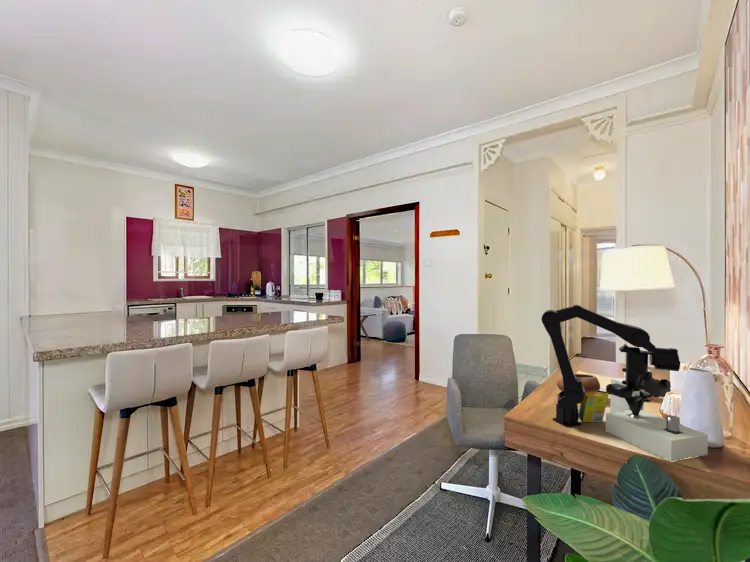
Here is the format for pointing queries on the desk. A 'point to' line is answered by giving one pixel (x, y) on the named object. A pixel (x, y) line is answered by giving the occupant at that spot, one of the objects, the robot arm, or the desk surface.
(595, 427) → the desk surface
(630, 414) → the peg near arm
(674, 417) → the peg far side
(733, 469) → the desk surface
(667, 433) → the block
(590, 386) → the bowl
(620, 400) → the supplement box
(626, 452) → the desk surface
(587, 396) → the crayon box
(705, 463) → the desk surface
